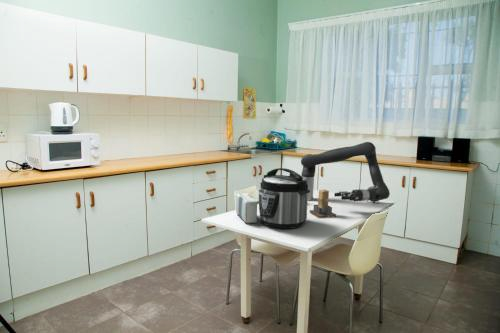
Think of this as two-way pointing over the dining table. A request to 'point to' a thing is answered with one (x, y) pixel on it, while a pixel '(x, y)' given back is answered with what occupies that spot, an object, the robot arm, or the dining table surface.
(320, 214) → the socket board
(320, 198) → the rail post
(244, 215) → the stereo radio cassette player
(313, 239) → the dining table surface
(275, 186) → the pressure cooker
